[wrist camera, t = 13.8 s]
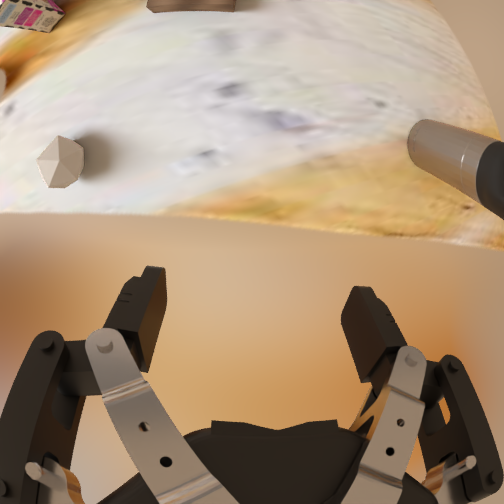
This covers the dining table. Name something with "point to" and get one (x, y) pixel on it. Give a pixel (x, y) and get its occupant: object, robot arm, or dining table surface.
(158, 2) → the walnut block
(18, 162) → the dining table surface
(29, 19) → the candy bar box
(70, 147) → the die
